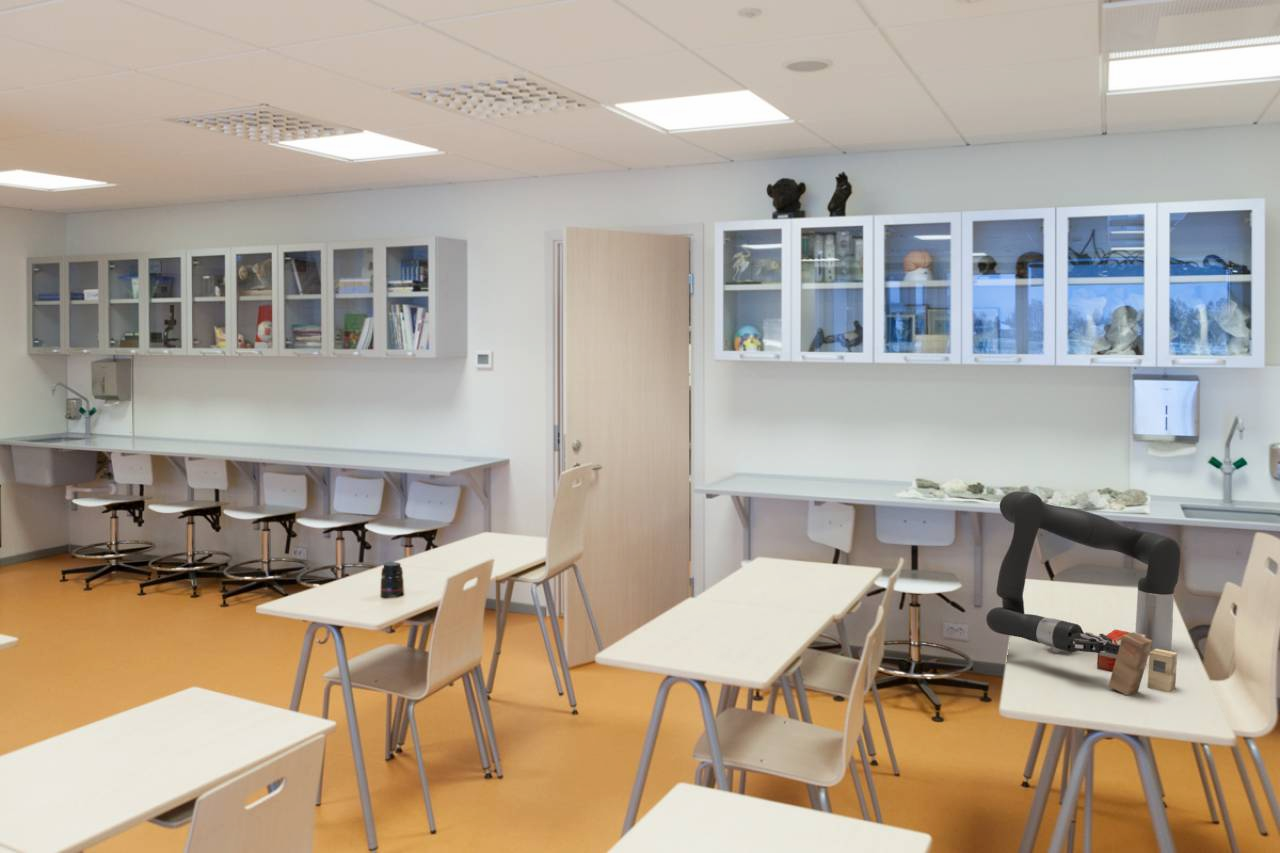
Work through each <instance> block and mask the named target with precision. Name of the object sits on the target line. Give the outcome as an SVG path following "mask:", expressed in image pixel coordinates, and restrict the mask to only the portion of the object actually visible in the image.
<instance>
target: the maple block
mask: <svg viewBox="0 0 1280 853" xmlns="http://www.w3.org/2000/svg"><path fill="white" fill-rule="evenodd" d="M1177 665H1178V652H1174V651H1171V652H1170V651H1166V650H1161V649H1155V650H1153V651H1151V652H1150V654H1149V655H1148V671H1147V672H1148V674H1147V675H1148V676H1147V689H1154V690H1159V691H1163V692H1167V693H1170V692H1171V691H1172V690H1174V689H1175V688H1176V682H1177V681H1176V680H1177V667H1178V666H1177Z"/></svg>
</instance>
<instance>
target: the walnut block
mask: <svg viewBox="0 0 1280 853" xmlns="http://www.w3.org/2000/svg"><path fill="white" fill-rule="evenodd" d="M1151 645H1152V641H1151V640H1149V639H1147V638H1145V637H1143V636H1141V635H1138V634H1136V633H1135V632H1134V631H1133V632H1131V633H1129V634H1125V635H1123V636H1122V640H1121V643H1120V647H1119V651H1118V654H1117V658H1116V661H1115V665H1114V668H1113V671H1111V672H1112V673H1111V677H1110V680H1109V683H1108V687H1110V688H1112V689H1113V690H1114V691H1115V690H1116V691H1118V692H1120V694H1124V696H1131V695H1133V694H1136V693H1138V692H1139V689H1140V685H1141V682H1142V679H1143V675H1144V673H1145V668H1146V665H1147V661H1148V660H1149V652H1150V648H1151Z"/></svg>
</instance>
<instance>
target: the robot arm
mask: <svg viewBox="0 0 1280 853" xmlns="http://www.w3.org/2000/svg"><path fill="white" fill-rule="evenodd" d="M999 510H1000V513H1001V515H1002V517H1003V518H1004V519H1005V520H1006V521H1007V522H1009V523H1011V524H1013V534H1012V539H1011V541H1010V544H1009V547H1008V549H1007V551H1006V553H1005V555H1004V557H1003V560H1002V561H1001V564H1000V568H999V571H998V572H999V573H998V578H997V584H996V594H997V596H998V597H999V598H1001V599H1002V601H1001V602H1002V607H1001V606H1000V607H994V608H992V609H990V610H989V611H988V612H987V614H986V618H985V620H986V624H987V626H988V628H989V629H990V630H992V632H994V633H998V634H1001V635H1006V636H1010V637H1016V638H1021V639H1025V640H1028V641H1031V642H1035V643H1038V644H1041V645H1043V646H1047V647H1049V648H1051V647H1052V648H1056V649H1060V650H1064V651H1067V652H1071V653H1070V654H1073V653H1076V652H1082V653H1083V652H1085V653H1096V654H1098V653H1100V652H1104V653H1105V652H1109V653H1113V654H1118V651H1119V647H1120V645H1118V644H1114V643H1112V640H1111V639H1110V638H1109V637H1107V636H1106V635H1107V634H1104V633H1099V635H1097V634H1094V633H1091V632H1088V631H1087V632H1084V631H1083V628H1082V626H1080V625H1079V624H1077V623H1073V622H1069V621H1067V620H1066V621H1065V620H1061V619H1057V618H1052V617H1051V618H1050V617H1046V616H1041V615H1037V614H1029V613H1025V605H1024V604H1025V602H1024V590H1025V584H1026V578H1027V572H1028V568H1029V564H1030V563H1029V562H1030V558H1031V555H1032V551H1033V548H1034V545H1035V540H1036V538H1037V534H1038V532H1039V529H1041V530H1044V531H1046V532H1049V533H1051V534H1053V535H1055V536H1058V537H1060V538H1063V539H1066V540H1068V541H1071V542H1074V543H1077V544H1080V545H1083V546H1086V547H1090V548H1093V549H1094V548H1095V549H1096V550H1097V549H1098V550H1104V551H1112V552H1118V553H1120V554H1123V555H1126V556H1129V557H1131V558H1133V559H1135V560H1138V561H1139V562H1141V563H1143V564H1145V565H1147V570H1146V575H1145V577H1141V578H1139V580H1138V581H1137V595H1136V596H1137V599H1136V615H1135V617H1136V619H1135V620H1136V621H1135V632H1134V633H1137V634H1142V635H1145V636H1146V637H1145V638H1147V639H1149V640H1151V641H1152V645H1151V648H1150V652H1151V651H1153V650H1155V649H1161V650H1166V651H1170V652H1172V646H1173V645H1172V643H1173V642H1172V640H1173V625H1174V624H1173V623H1174V619H1173V618H1174V616H1173V615H1174V604H1175V603H1174V600H1175V598H1174V597H1175V588H1176V586H1177V584H1178V581H1179V576H1180V566H1181V555H1182V554H1181V548H1180V546H1179V543H1178V542H1177V541H1176V540H1175V539H1174V538H1172V537H1168V536H1165V535H1163V534H1159V533H1156V532H1149V531H1143V530H1138V529H1133V528H1130V527H1125V526H1123V525H1121V524H1119V523H1117V522H1116V521H1113V520H1111V519H1109V518H1106V517H1105V516H1102V515H1099V514H1096V513H1093V512H1089V511H1085V510H1081V509H1077V508H1073V507H1066V506H1059V505H1053V504H1049V503H1046V502H1043V500H1042V498H1041V497H1040V496H1039V495H1038V494H1036V493H1033V492H1028V491H1019V490H1018V491H1012V492H1009V493H1007V494H1005V495H1004V496H1003V497H1002V498H1001V500H1000V502H999ZM1150 652H1149V654H1150Z"/></svg>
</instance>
